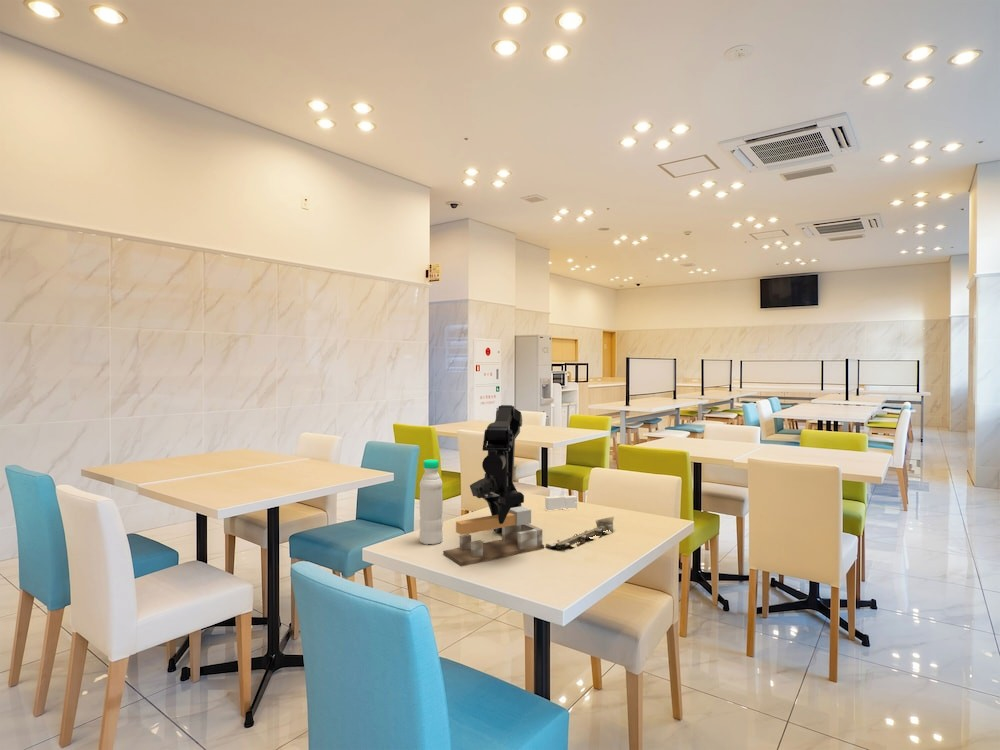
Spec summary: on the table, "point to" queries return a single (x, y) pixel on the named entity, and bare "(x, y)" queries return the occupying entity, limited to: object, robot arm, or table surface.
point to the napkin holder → (560, 502)
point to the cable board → (497, 545)
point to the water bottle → (431, 504)
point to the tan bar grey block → (494, 521)
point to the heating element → (586, 533)
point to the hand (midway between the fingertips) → (498, 522)
